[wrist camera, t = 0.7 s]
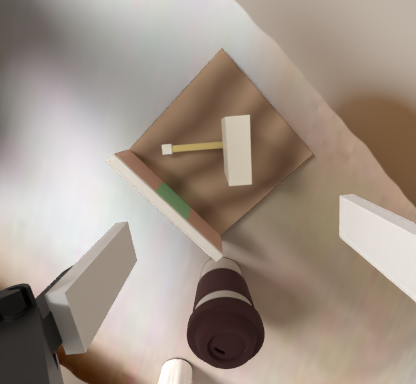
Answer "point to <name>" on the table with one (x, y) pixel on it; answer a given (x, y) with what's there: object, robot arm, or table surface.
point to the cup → (176, 372)
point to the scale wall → (167, 202)
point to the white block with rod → (228, 149)
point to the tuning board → (212, 132)
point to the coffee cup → (224, 317)
